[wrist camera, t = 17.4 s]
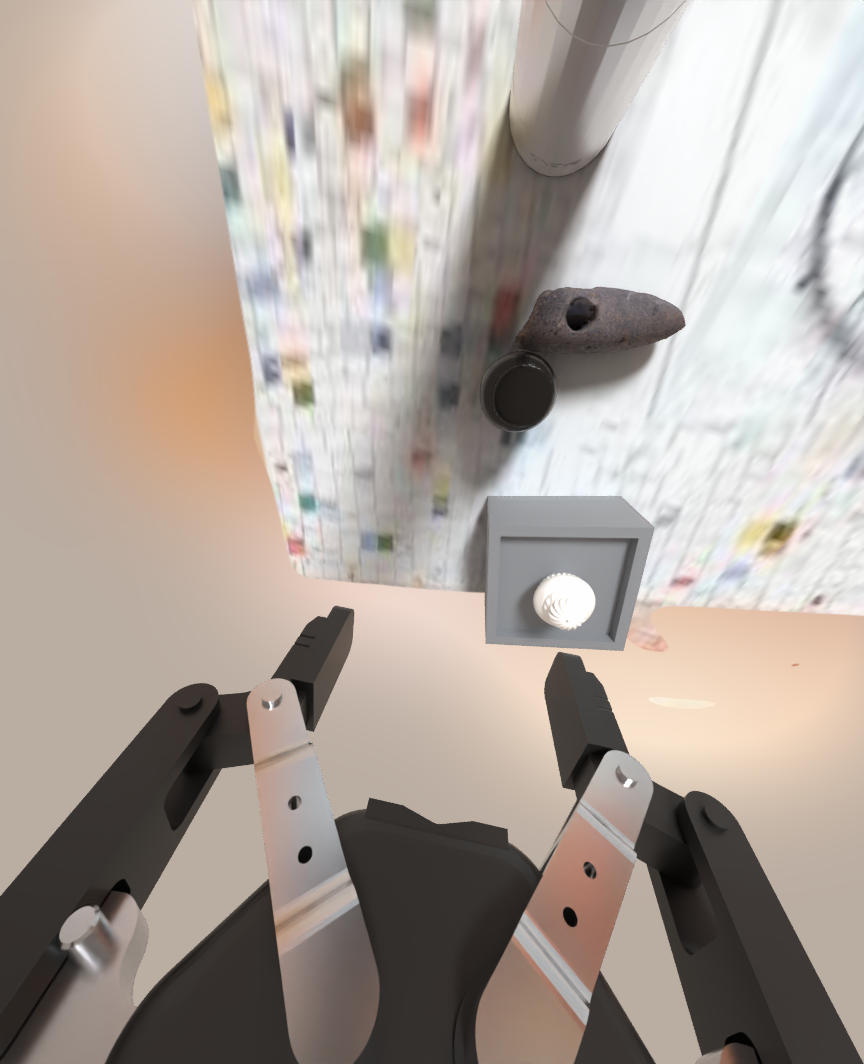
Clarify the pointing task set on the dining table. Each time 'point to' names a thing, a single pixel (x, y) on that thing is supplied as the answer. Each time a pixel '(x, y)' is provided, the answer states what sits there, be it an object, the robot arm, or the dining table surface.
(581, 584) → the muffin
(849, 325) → the dining table surface
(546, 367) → the supplement bottle
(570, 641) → the grey square open box
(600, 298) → the perforated stone tool
